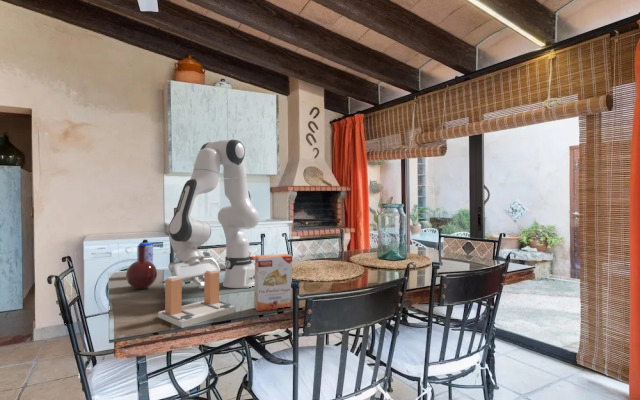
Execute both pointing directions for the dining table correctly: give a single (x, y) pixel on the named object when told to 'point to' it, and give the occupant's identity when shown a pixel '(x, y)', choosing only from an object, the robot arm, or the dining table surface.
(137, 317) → the dining table surface
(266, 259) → the cracker box
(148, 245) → the aerosol can
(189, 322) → the white base plate
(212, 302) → the tan tall bar
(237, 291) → the dining table surface
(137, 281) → the round-bottom flask
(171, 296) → the orange rectangular block
